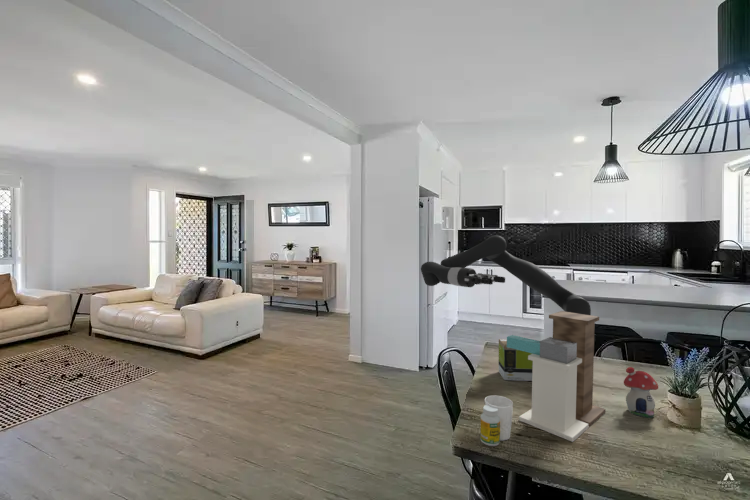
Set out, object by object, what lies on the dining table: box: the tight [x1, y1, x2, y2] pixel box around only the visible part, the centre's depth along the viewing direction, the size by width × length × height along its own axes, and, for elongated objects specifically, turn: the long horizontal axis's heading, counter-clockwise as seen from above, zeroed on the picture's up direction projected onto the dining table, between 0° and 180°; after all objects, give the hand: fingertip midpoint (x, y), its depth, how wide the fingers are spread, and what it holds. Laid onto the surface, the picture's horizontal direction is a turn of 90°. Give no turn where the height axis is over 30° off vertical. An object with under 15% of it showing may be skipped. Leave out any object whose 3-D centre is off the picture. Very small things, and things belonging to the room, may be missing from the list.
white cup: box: [484, 394, 514, 441], centre depth 107 cm, size 8×8×10 cm
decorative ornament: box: [623, 366, 659, 419], centre depth 121 cm, size 9×6×15 cm
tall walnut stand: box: [548, 310, 606, 427], centre depth 122 cm, size 16×14×32 cm
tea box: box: [498, 338, 533, 382], centre depth 152 cm, size 15×10×15 cm, turn 84°
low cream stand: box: [518, 354, 589, 443], centre depth 113 cm, size 16×12×21 cm
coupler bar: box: [506, 334, 577, 364], centre depth 116 cm, size 20×7×5 cm, turn 41°
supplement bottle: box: [480, 404, 501, 447], centre depth 103 cm, size 5×5×10 cm
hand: (498, 280), depth 134 cm, fingers open, 8 cm apart
